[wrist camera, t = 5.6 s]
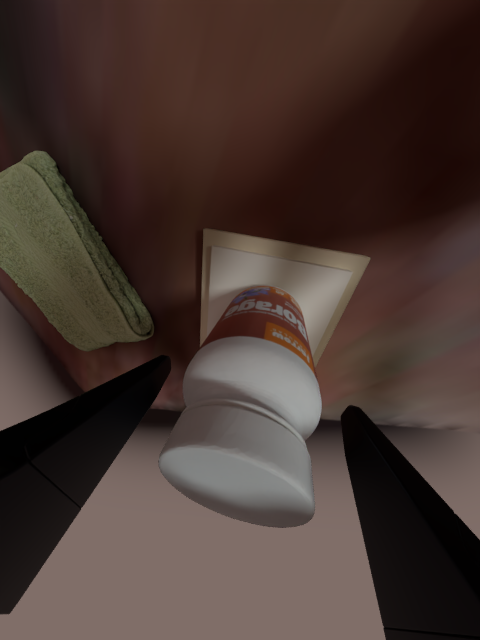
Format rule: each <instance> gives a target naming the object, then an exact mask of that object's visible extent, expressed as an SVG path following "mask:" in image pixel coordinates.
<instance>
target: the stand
mask: <svg viewBox="0 0 480 640" xmlns="http://www.w3.org/2000/svg"><path fill="white" fill-rule="evenodd" d="M370 259H371V258H370V257H367V256H364V255H359V254H353V253H348V252H342V251H336V250H331V249H325V248H319V247H313V246H308V245H302V244H296V243H291V242H285V241H279V240H273V239H268V238H262V237H256V236H251V235H245V234H239V233H234V232H228V231H222V230H216V229H211V228H204V229H203V262H202V295H201V328H200V347H201V345H202V344H203V342H204V341H205V339H206V338H207V337H208V335H209V334H210V332H211V331H212V329H213V328H214V326H215V325H216V323H217V322H218V321H219V319H220V318H221V316H222V315H223V313H224V312H225V310H226V309H227V307H228V306H229V304H230V303H231V301H232V300H233V299H234V298H235V297H236V296H237V295H238V294H239V293H240V292H241V291H243V290H245V289H247V288H249V287H252V286H257V285H272V286H276V287H279V288H281V289H283V290H285V291H287V292H288V293H289V294H291V295H292V296H293V297H294V298H295V300H296V301H297V302H298V304H299V306H300V308H301V311H302V314H303V317H304V322H305V327H306V331H307V335H308V340H309V345H310V349H311V353H312V357H313V362H314V366H315V367H316V365H317V363H318V361H319V359H320V357H321V355H322V353H323V351H324V349H325V347H326V345H327V343H328V341H329V339H330V337H331V335H332V333H333V331H334V329H335V327H336V325H337V323H338V321H339V320H340V318H341V316H342V314H343V312H344V310H345V308H346V306H347V304H348V302H349V300H350V298H351V296H352V294H353V292H354V290H355V288H356V286H357V284H358V282H359V280H360V278H361V276H362V274H363V273H364V271H365V269H366V267H367V265H368V263H369V261H370Z"/></svg>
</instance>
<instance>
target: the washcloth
mask: <svg viewBox="0 0 480 640" xmlns="http://www.w3.org/2000/svg"><path fill="white" fill-rule="evenodd" d="M102 239H103V238H102V237H101V236H99V235H98V232H97V231H95V227H94V226H93V225H91V223H90V222H89V219H88V217H87V215H86V213H85V212H84V211H83V209H82V208H81V207H80V206H79V203H78V202H76V200H75V199H74V197H73V193H72V190H71V189H70V187H69V186H68V184H66V183H65V179H64V177H63V176H61V174H60V173H59V171H58V169H57V167H56V162H55V161H54V160H53V159H52V158H51V157H50V156H49V155H48V153H47V152H43V151H34V152H32V153H30V154H28V155H26V156H25V157H24V158H23V160H22V161H20V162H19V163H17V164H15V165H12V166H11V167H10V168H8V169H6V170H4V171H2V172H0V267H1V268H2V269H3V270H4V271H5V272H6V273H7V274H8V275H9V276H10V277H11V278H12V279H13V280H14V281H15V283H18V285H17V286H18V287H19V288H22V290H23V291H24V293H25V294H27V295H28V296H29V297H31V298H32V299H33V301H34V302H35V303H36V304H37V306H38V307H39V308H40V310H41V311H42V312H43V313H44V315H45V316H46V317H47V318H48V321H49V323H51V324H52V325H53V326H54V327H56V329H57V331H58V332H60V333H61V334H62V336H63V337H64V339H65V340H67V342H69V343H70V344H73V345H74V346H75V347H77V348H78V349H79V350H83V351H91V350H94V349H98V348H101V347H105V346H109V345H111V344H114V342H126V343H128V342H138V341H140V340H146V339H147V338H149V337H151V336H152V335H153V333H154V325H153V322H152V318H151V317H150V313H149V312H148V310H147V309H146V307H145V306H144V304H143V303H142V302H141V300H140V298H139V296H138V294H137V293H136V291H135V289H134V288H133V287H132V286H131V285H130V284H129V282H128V278H127V277H126V275H125V274H124V272H123V271H122V269H121V268H120V266H119V265H118V264H117V262H116V260H115V259H114V258H113V257H112V255H111V254H110V252H109V251H108V248H107V247H106V245H105V244H104V242H102Z"/></svg>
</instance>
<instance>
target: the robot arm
mask: <svg viewBox="0 0 480 640" xmlns="http://www.w3.org/2000/svg"><path fill="white" fill-rule="evenodd" d="M170 371H171V360H170V357H169V356H165V355H161V356H159V357H157V358H155V359H152V360H150V361H148V362H146V363H144V364H142V365H140V366H138V367H136V368H134V369H132V370H130V371H128V372H126V373H124V374H122V375H120V376H118V377H116V378H114V379H112V380H110V381H108V382H106V383H104V384H102V385H100V386H98V387H96V388H94V389H91V390H89V391H87V392H85V393H83V394H81V395H80V396H77V397H75V398H74V399H71V400H69V401H67V402H65V403H63V404H61V405H58V406H56V407H54V408H52V409H50V410H48V411H46V412H43V413H41V414H39V415H37V416H34V417H32V418H30V419H28V420H25V421H23V422H20V423H18V424H16V425H13V426H11V427H9V428H6V429H4V430H2V431H0V614H10V613H11V611H12V610H13V608H14V607H15V606H16V604H17V603H18V602H19V600H20V599H21V597H22V596H23V594H24V593H25V591H26V590H27V588H28V587H29V585H30V584H31V582H32V581H33V579H34V578H35V577H36V575H37V574H38V572H39V571H40V569H41V568H42V566H43V565H44V563H45V562H46V560H47V559H48V557H49V556H50V554H51V553H52V551H53V550H54V548H55V547H56V546H57V544H58V542H59V541H60V540H61V538H62V537H63V535H64V534H65V532H66V531H67V529H68V528H69V526H70V525H71V523H72V522H73V520H74V519H75V517H76V516H77V514H78V513H79V512H80V510H81V508H82V507H83V505H84V504H85V502H86V501H87V499H88V498H89V497H90V495H91V494H92V492H93V491H94V489H95V488H96V486H97V485H98V483H99V482H100V480H101V479H102V477H103V476H104V474H105V473H106V471H107V470H108V468H109V467H110V465H111V464H112V463H113V461H114V459H115V458H116V457H117V455H118V454H119V452H120V451H121V449H122V448H123V446H124V444H125V443H126V442H127V440H128V439H129V437H130V436H131V435H132V433H133V432H134V430H135V429H136V427H137V425H138V424H139V423H140V421H141V420H142V418H143V417H144V415H145V414H146V412H147V411H148V409H149V408H150V406H151V405H152V403H153V402H154V400H155V399H156V397H157V395H158V394H159V392H160V390H161V388H162V386H163V384H164V382H165V381H166V379H167V377H168V375H169V373H170ZM341 426H342V434H343V442H344V450H345V457H346V461H347V466H348V471H349V475H350V480H351V484H352V488H353V493H354V498H355V502H356V507H357V511H358V516H359V520H360V524H361V529H362V533H363V538H364V542H365V547H366V551H367V556H368V560H369V565H370V569H371V574H372V578H373V583H374V587H375V592H376V596H377V600H378V605H379V610H380V614H381V619H382V623H383V626H384V633H385V637H386V640H480V540H479V539H478V538H477V536H476V535H475V534H474V533H473V532H472V531H471V530H470V529H469V528H468V527H467V525H465V523H464V522H463V521H462V520H461V519H460V518H459V517H458V516H457V515H456V514H454V512H453V510H452V509H451V508H450V507H449V506H448V505H447V503H445V501H444V500H443V499H442V498H441V497H440V496H439V495H438V494H437V492H436V491H435V490H434V489H433V488H432V487H431V486H430V485H429V484H428V482H427V481H426V480H425V479H424V478H423V477H422V476H421V475H420V474H419V472H418V471H417V470H416V469H415V468H414V467H413V466H412V465H411V464H410V463H409V461H408V460H407V459H406V458H405V457H404V456H403V455H402V454H401V453H400V451H399V450H398V449H397V448H396V447H395V446H394V445H393V444H392V443H391V442H390V440H389V439H388V438H387V437H386V436H385V435H384V434H383V433H382V432H381V430H380V429H379V428H378V427H377V426H376V425H375V424H374V423H373V422H372V421H371V419H370V418H369V417H368V416H367V415H366V414H365V413H364V412H363V411H362V409H360V408H359V407H356V406H352V405H349V406H348V407H347V408H346V409H345V411H344V412H343V413H342V415H341Z"/></svg>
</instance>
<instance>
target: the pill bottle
mask: <svg viewBox="0 0 480 640" xmlns="http://www.w3.org/2000/svg"><path fill="white" fill-rule="evenodd" d="M183 396H184V401H185V404H186V407H187V408H186V409H185V410H184V411H183V412H182V414H181V416H180V418H179V419H178V421H177V423H176V425H175V427H174V428H173V430H172V432H171V434H170V436H169V438H168V440H167V442H166V444H165V446H164V448H163V450H162V452H161V454H160V457H159V461H158V462H159V468H160V470H161V473H162V474H163V476H164V477H165V478H166V479H167V480H168V482H169V483H170V484H171V485H172V486H174V487H175V488H176V489H177V490H178V491H180V492H181V493H182V494H184V495H185V496H186V497H188V498H189V499H191V500H193V501H195V502H197V503H199V504H200V505H202V506H204V507H206V508H209V509H211V510H213V511H215V512H217V513H220V514H222V515H225V516H228V517H231V518H233V519H237V520H240V521H244V522H248V523H252V524H257V525H262V526H268V527H278V528H286V527H296V526H300V525H303V524H306V523H307V522H308V521H310V520H311V519H312V517H313V515H314V511H315V501H314V489H313V479H312V468H311V458H310V455H309V453H308V451H307V447H306V444H305V440H306V439H307V438H308V437H309V436H310V435H311V434H312V433H313V431H314V430H315V428H316V426H317V425H318V422H319V419H320V415H321V408H322V402H321V396H320V390H319V385H318V380H317V375H316V371H315V366H314V362H313V357H312V353H311V349H310V345H309V340H308V335H307V331H306V327H305V322H304V317H303V314H302V311H301V308H300V306H299V304H298V302H297V301H296V300H295V298H294V297H293V296H292V295H291V294H289V293H288V292H287V291H285V290H283V289H281V288H279V287H276V286H272V285H257V286H252V287H249V288H247V289H245V290H243V291H241V292H240V293H239V294H238V295H237V296H236V297H235V298H234V299H233V300H232V301H231V303H230V304H229V306H228V307H227V309H226V310H225V312H224V313H223V315H222V316H221V318H220V319H219V321H218V322H217V323H216V325H215V326H214V328H213V329H212V331H211V332H210V334H209V335H208V337H207V338H206V339H205V341H204V342H203V344H202V345H201V347H200V348H199V350H198V351H197V353H196V354H195V356H194V357H193V359H192V360H191V362H190V364H189V365H188V367H187V370H186V372H185V375H184V379H183Z"/></svg>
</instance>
